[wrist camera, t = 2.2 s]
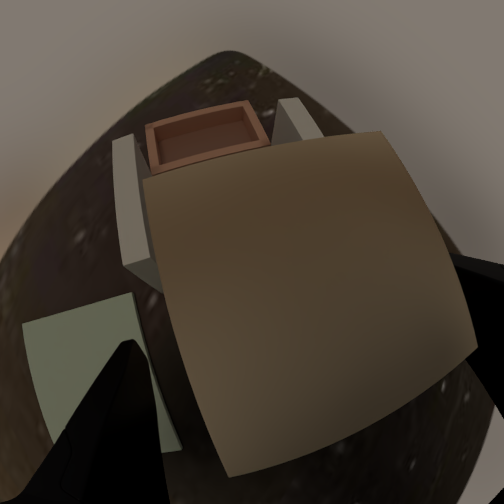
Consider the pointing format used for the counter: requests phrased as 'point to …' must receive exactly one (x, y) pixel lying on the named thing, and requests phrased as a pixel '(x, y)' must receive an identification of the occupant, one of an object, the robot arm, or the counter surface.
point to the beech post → (304, 292)
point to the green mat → (85, 359)
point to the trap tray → (203, 136)
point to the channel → (135, 170)
